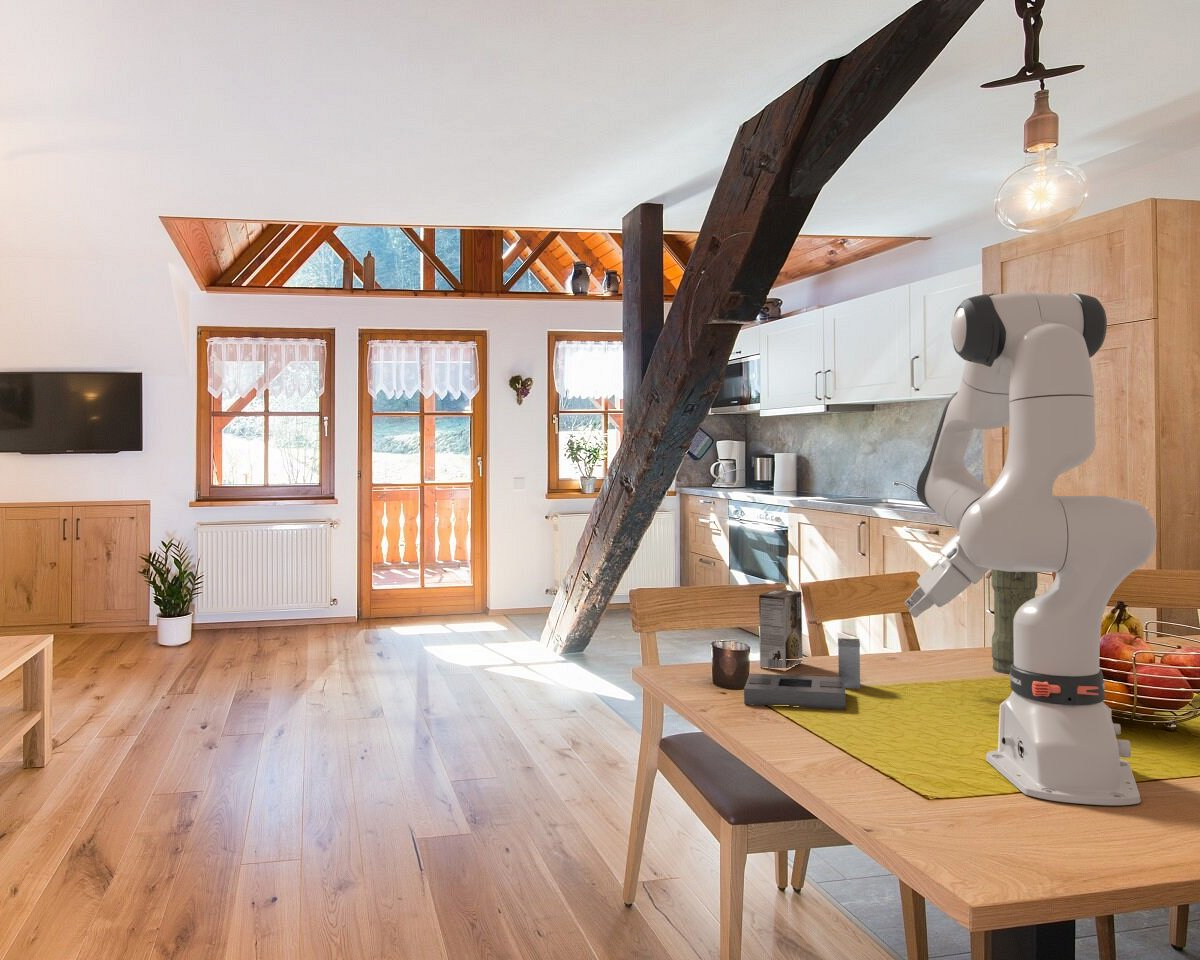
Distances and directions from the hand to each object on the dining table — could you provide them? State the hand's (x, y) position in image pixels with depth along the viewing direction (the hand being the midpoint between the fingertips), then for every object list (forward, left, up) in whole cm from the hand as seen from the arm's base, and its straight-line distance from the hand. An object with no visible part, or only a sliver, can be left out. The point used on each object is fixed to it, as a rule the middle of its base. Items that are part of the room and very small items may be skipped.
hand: (909, 610), depth 173 cm
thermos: (+20, -23, -15) cm, 34 cm away
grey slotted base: (-12, +21, -15) cm, 29 cm away
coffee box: (+15, +25, -15) cm, 33 cm away
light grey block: (0, +11, -15) cm, 19 cm away
